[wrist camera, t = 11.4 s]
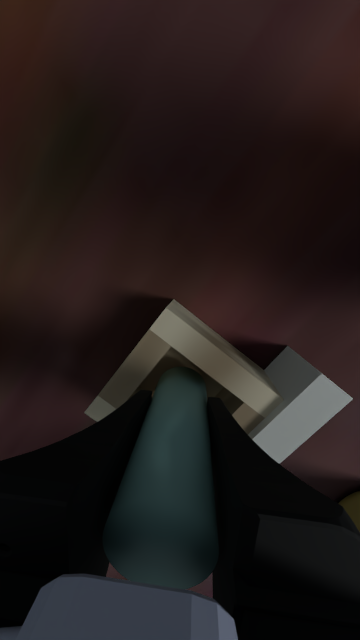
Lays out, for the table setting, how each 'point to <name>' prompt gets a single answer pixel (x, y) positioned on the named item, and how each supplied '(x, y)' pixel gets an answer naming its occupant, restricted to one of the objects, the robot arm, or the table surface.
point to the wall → (296, 405)
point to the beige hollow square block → (198, 354)
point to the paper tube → (352, 507)
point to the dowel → (167, 491)
